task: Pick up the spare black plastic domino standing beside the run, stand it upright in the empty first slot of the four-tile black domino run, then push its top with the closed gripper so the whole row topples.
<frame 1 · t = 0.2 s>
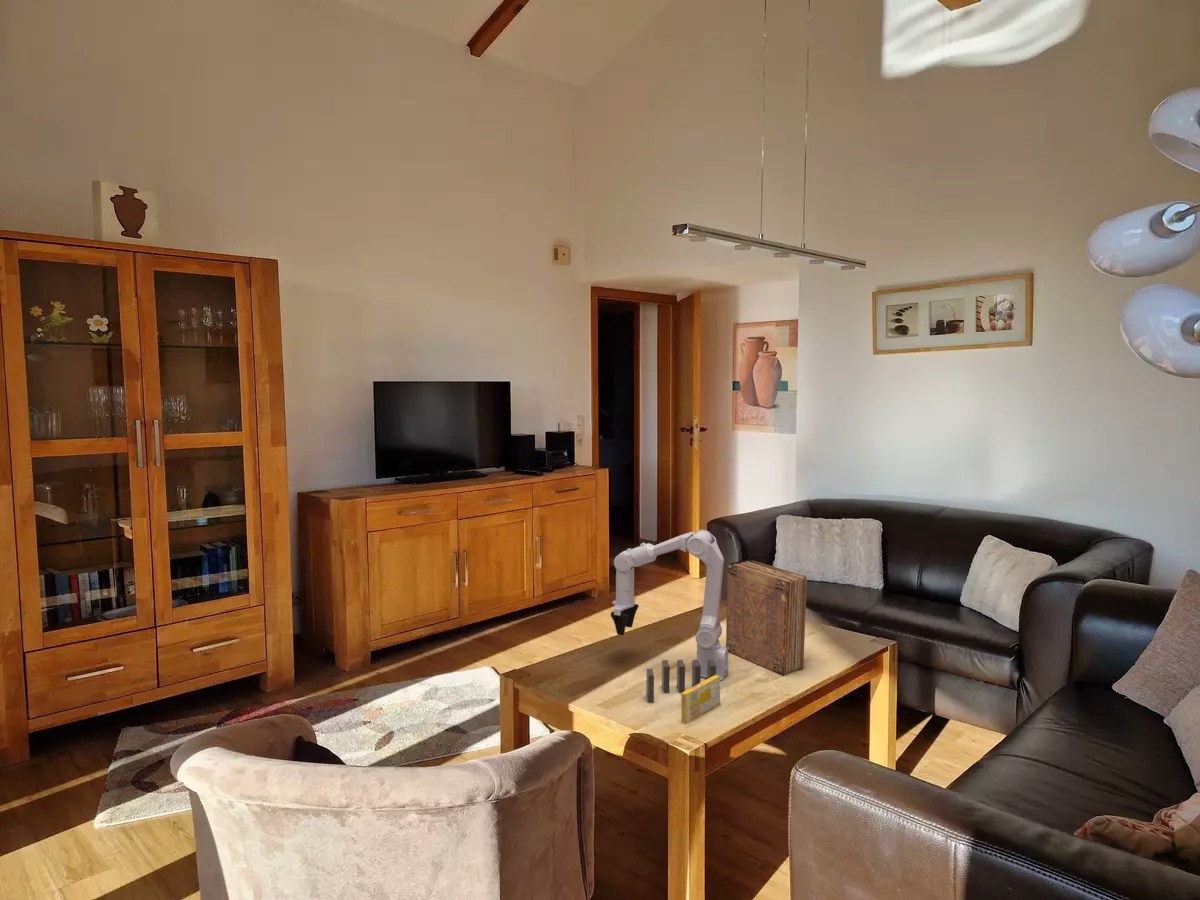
hand: (624, 630, 250), 10 cm above the table, tool pointing down, fingers open, 7 cm apart
domino 2: (665, 689, 230), on the table
domino 4: (695, 689, 230), on the table
book: (763, 660, 253), on the table
domino 5: (711, 689, 231), on the table
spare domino: (649, 699, 224), on the table
domino 3: (680, 689, 230), on the table
candy box: (700, 713, 215), on the table
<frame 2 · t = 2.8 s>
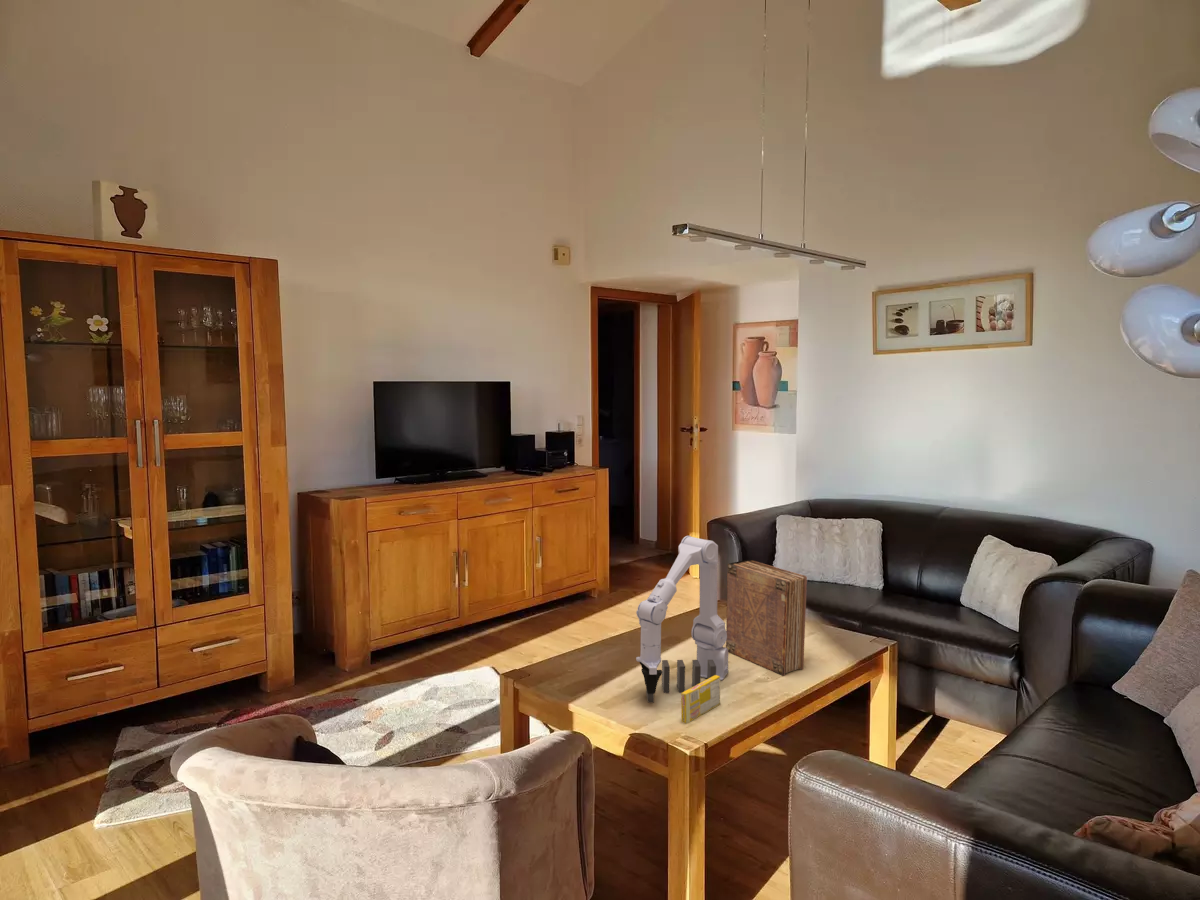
hand: (650, 689, 223), 3 cm above the table, tool pointing down, fingers closed on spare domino, 5 cm apart
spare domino: (649, 698, 224), on the table, touching gripper
everything else where it was.
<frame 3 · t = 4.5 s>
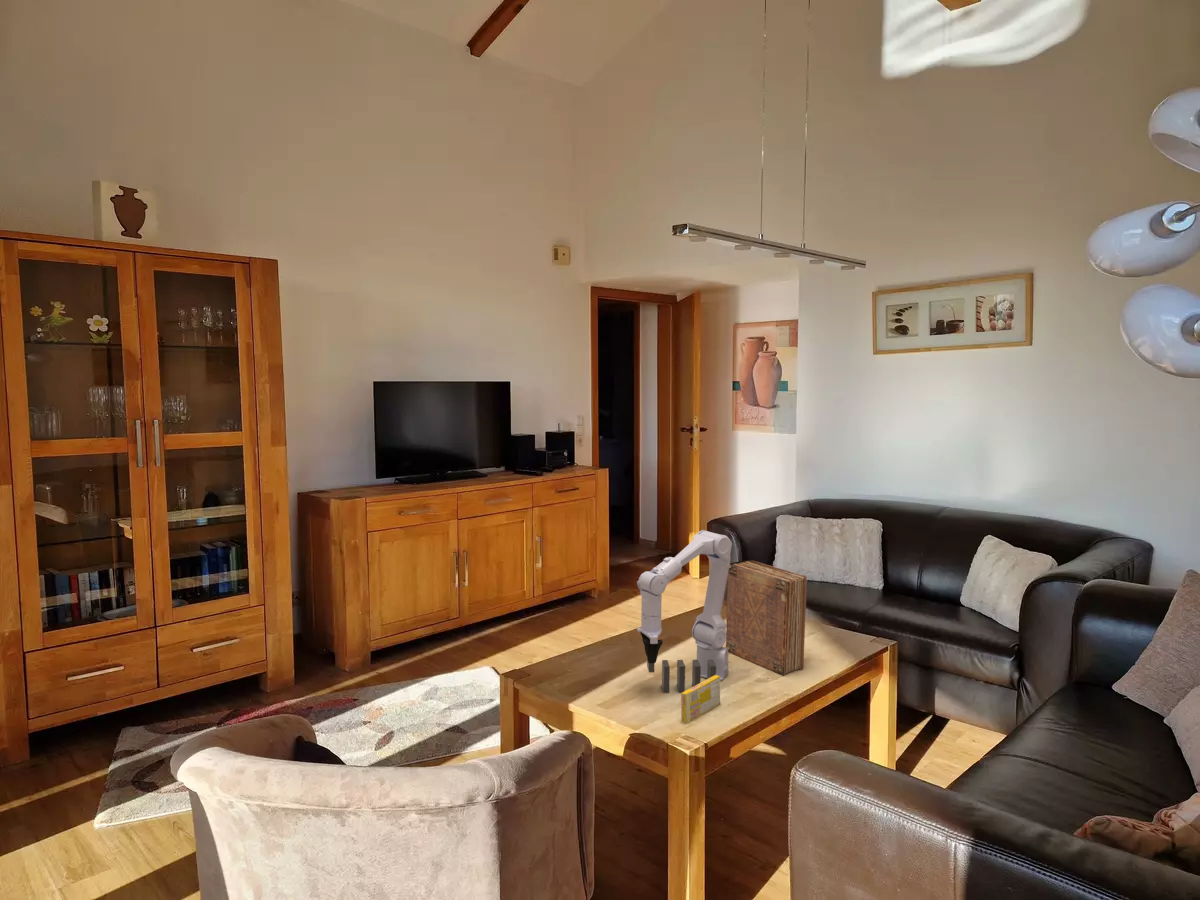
hand: (650, 659, 227), 10 cm above the table, tool pointing down, fingers closed on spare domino, 5 cm apart
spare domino: (650, 668, 228), point 7 cm above the table, touching gripper
everything else where it was.
when the fingers open (4 cm above the table, at t = 6.3 s): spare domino stays where it is, on the table.
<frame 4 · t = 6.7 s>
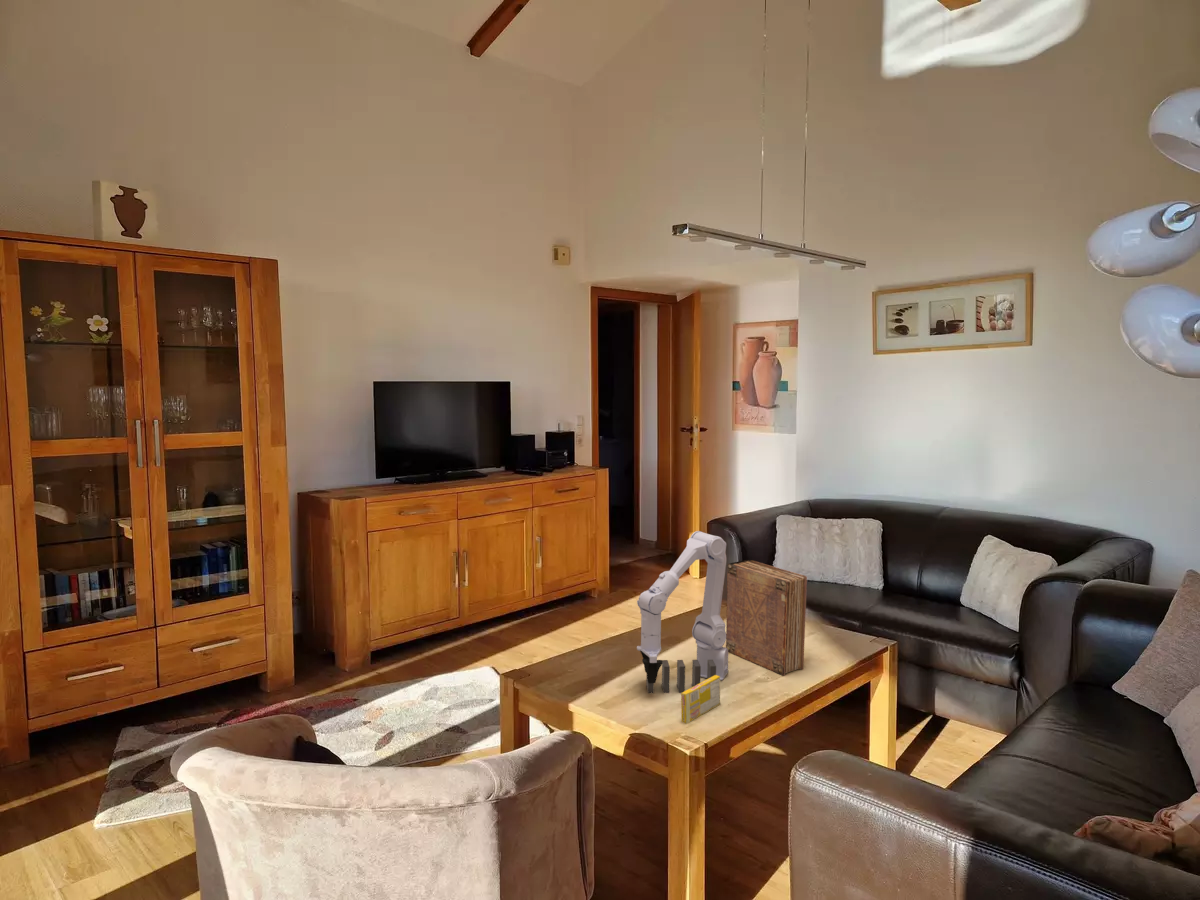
hand: (650, 677, 229), 4 cm above the table, tool pointing down, fingers open, 7 cm apart
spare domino: (650, 689, 230), on the table
everything else where it was.
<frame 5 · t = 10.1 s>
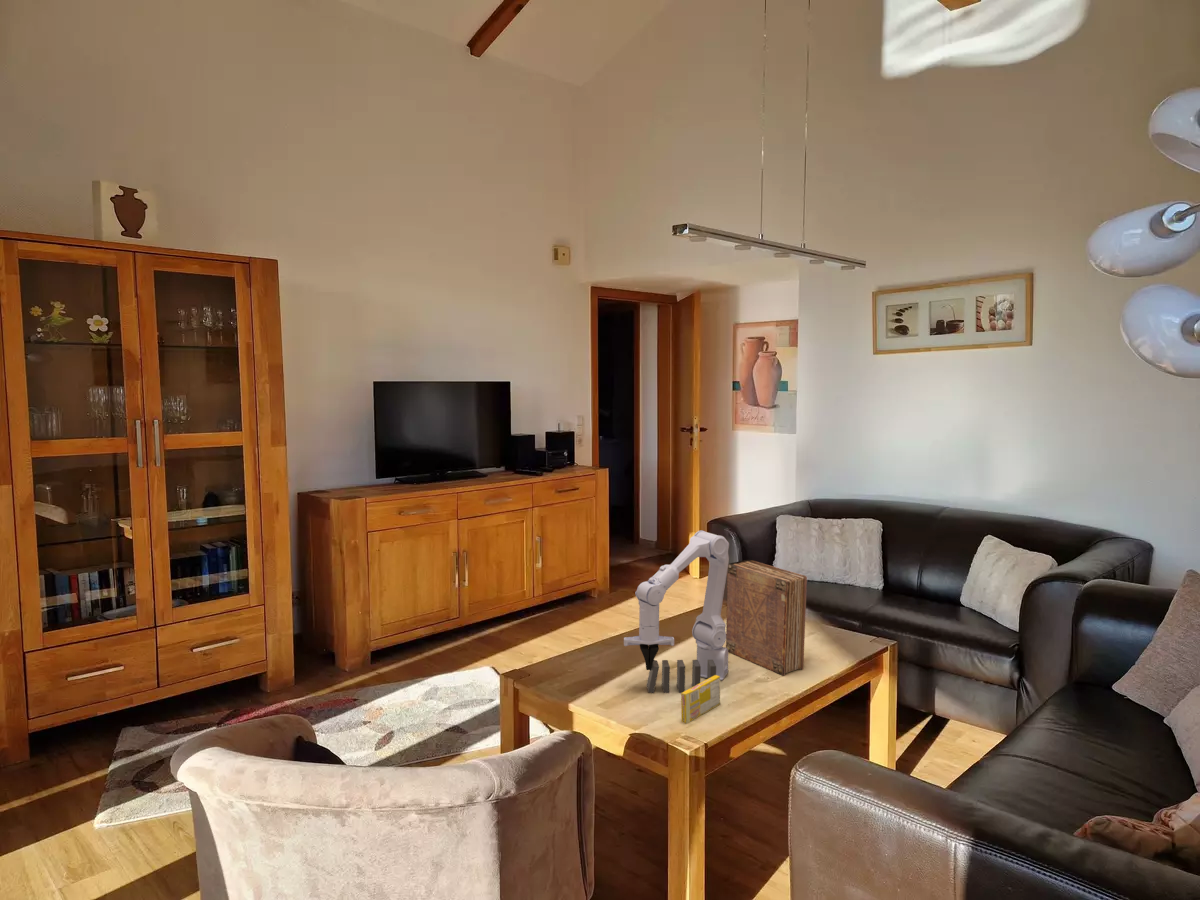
hand: (648, 668, 229), 6 cm above the table, tool pointing down, fingers closed
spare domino: (650, 689, 230), on the table, tilted 11°
everything else where it was.
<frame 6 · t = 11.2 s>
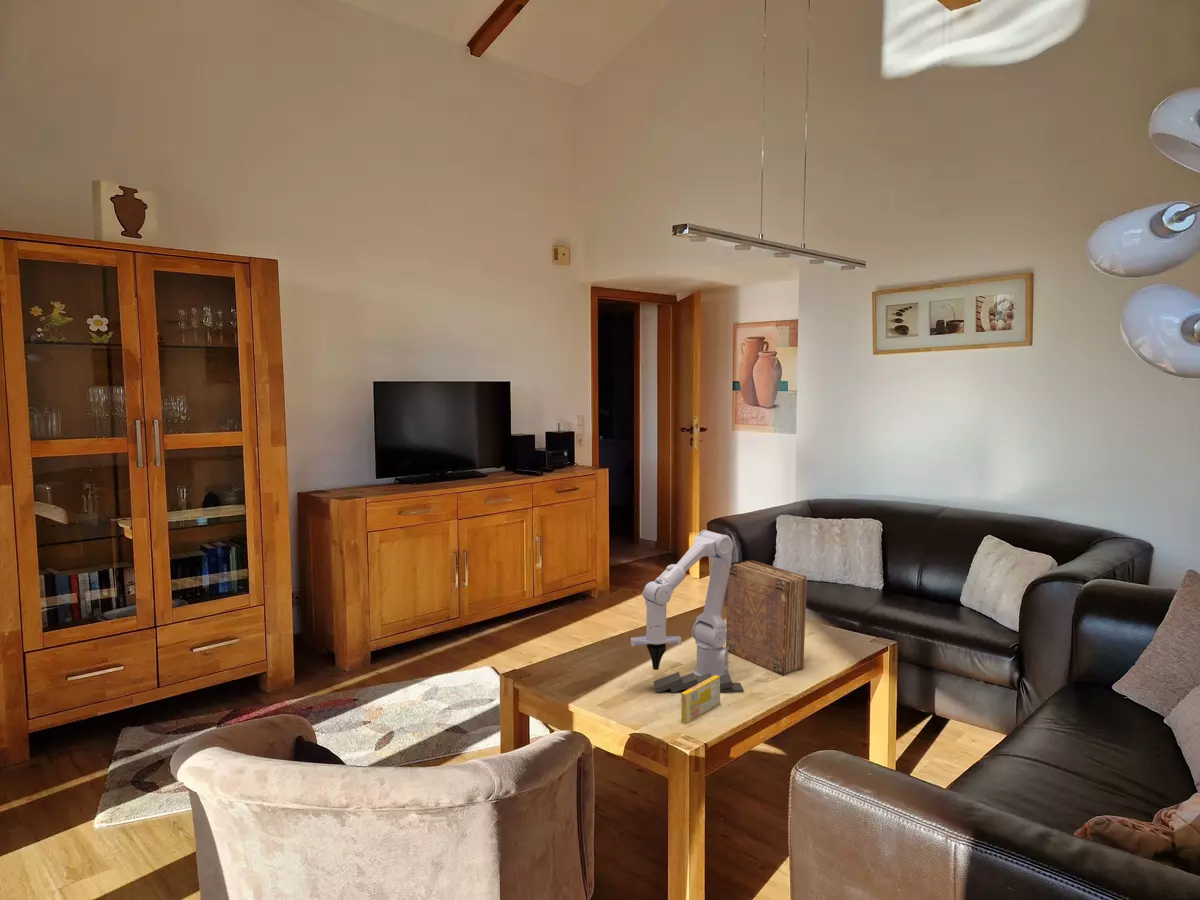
hand: (655, 668, 229), 6 cm above the table, tool pointing down, fingers closed
domino 2: (670, 687, 230), point 1 cm above the table, tilted 71°, touching domino 3, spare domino
domino 4: (704, 686, 230), point 1 cm above the table, tilted 75°, touching domino 3, domino 5
domino 5: (714, 688, 231), on the table, tilted 90°, touching domino 4
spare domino: (655, 687, 230), point 1 cm above the table, tilted 69°, touching domino 2
domino 3: (686, 687, 230), point 1 cm above the table, tilted 71°, touching domino 2, domino 4
everything else where it was.
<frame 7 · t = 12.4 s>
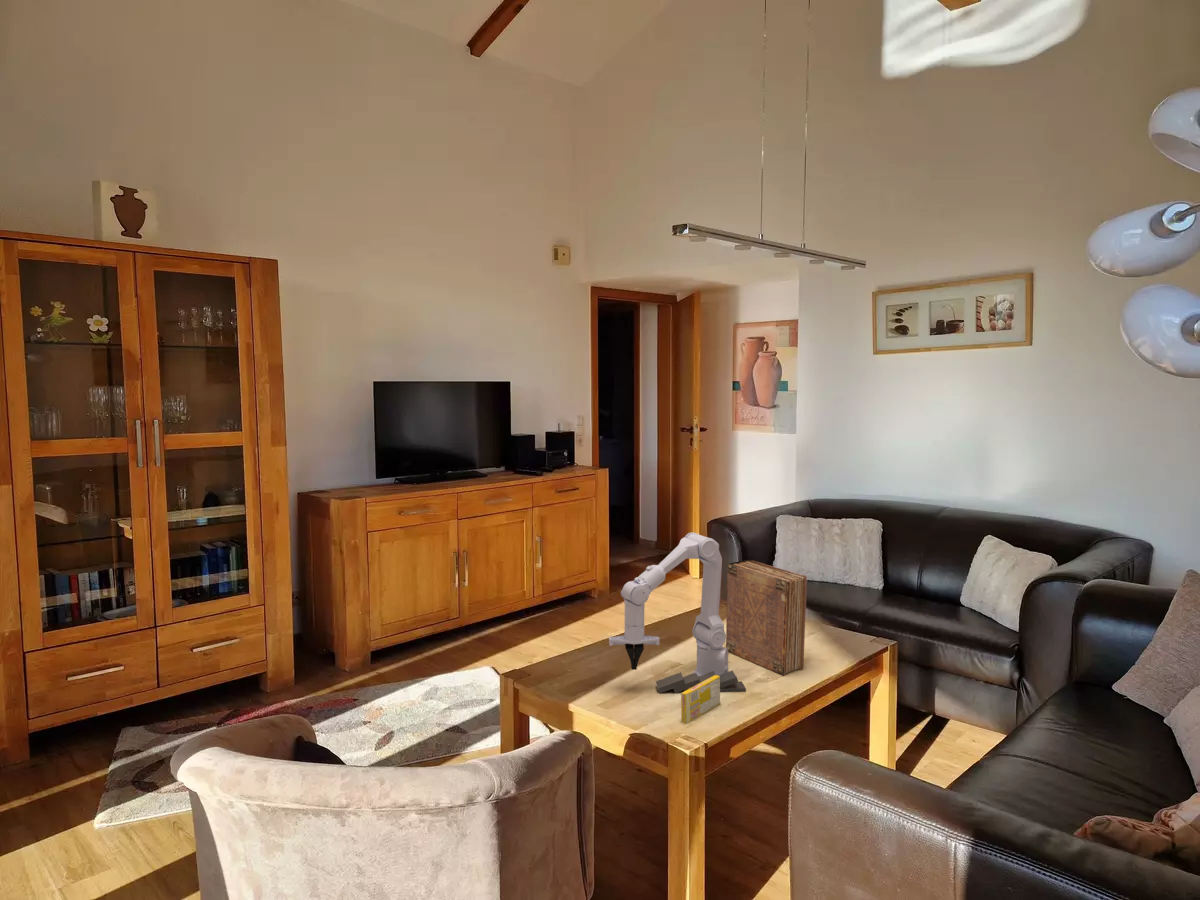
hand: (633, 668, 229), 6 cm above the table, tool pointing down, fingers closed
domino 2: (672, 687, 230), point 1 cm above the table, tilted 71°, touching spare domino
domino 4: (709, 685, 231), point 1 cm above the table, tilted 71°, touching domino 5
domino 3: (690, 686, 230), point 1 cm above the table, tilted 70°
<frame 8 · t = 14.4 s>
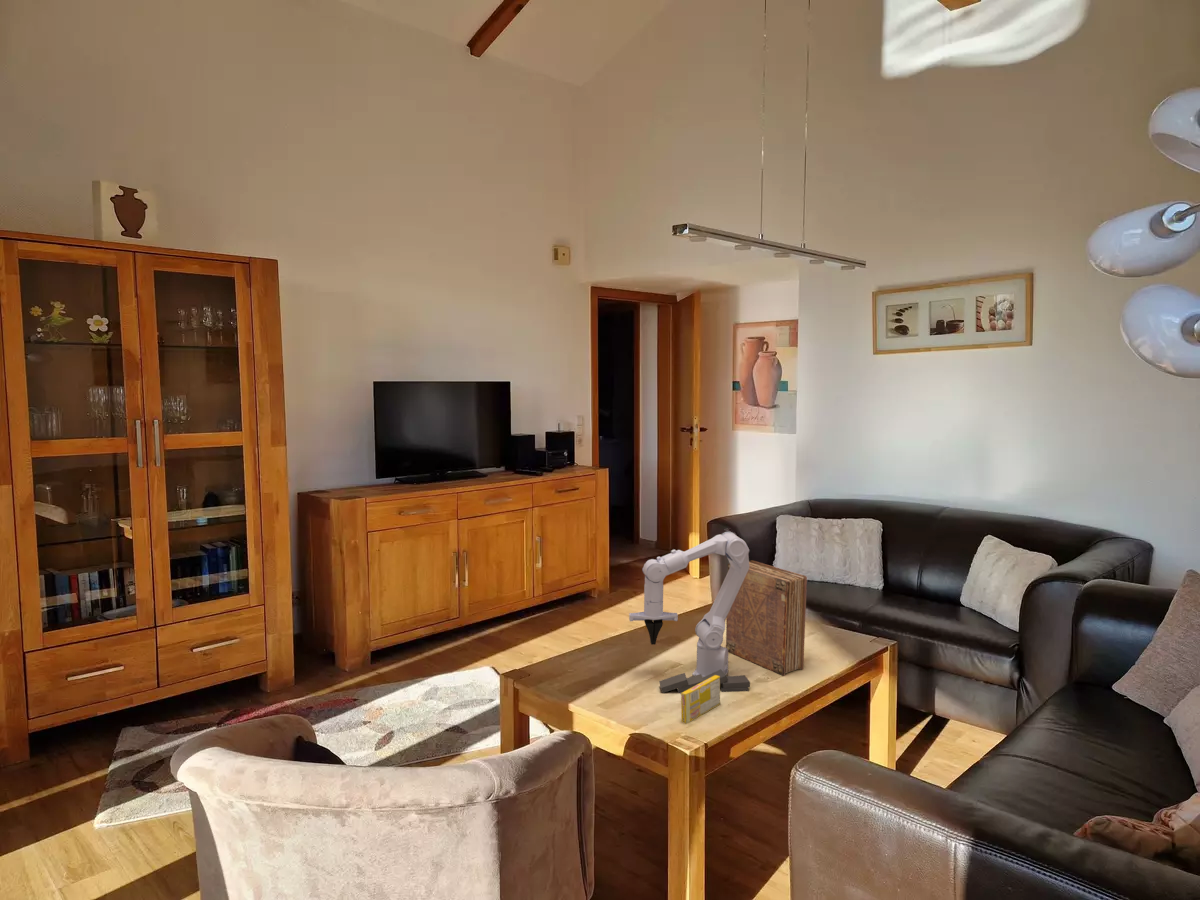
hand: (653, 643, 238), 10 cm above the table, tool pointing down, fingers closed
domino 2: (676, 687, 230), point 1 cm above the table, tilted 74°, touching domino 3, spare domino
domino 4: (721, 682, 231), point 2 cm above the table, tilted 89°, touching domino 5
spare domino: (660, 687, 230), point 1 cm above the table, tilted 71°, touching domino 2
domino 3: (700, 686, 231), point 1 cm above the table, tilted 68°, touching domino 2
at the end: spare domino 3.1 cm from the target spot, point 0.8 cm above the table; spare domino tilted 71°; domino 5 tilted 89° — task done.
